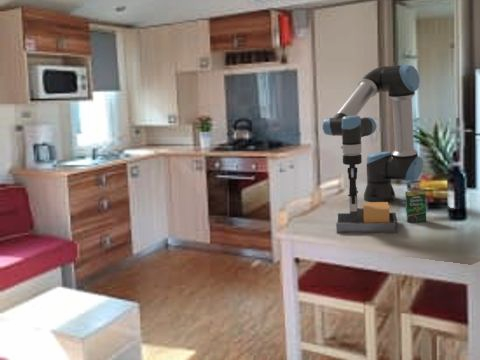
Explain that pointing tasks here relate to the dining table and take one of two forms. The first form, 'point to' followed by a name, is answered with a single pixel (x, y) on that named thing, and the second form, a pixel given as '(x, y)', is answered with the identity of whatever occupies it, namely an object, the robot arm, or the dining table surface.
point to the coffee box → (415, 206)
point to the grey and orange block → (372, 211)
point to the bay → (365, 224)
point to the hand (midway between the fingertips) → (353, 209)
